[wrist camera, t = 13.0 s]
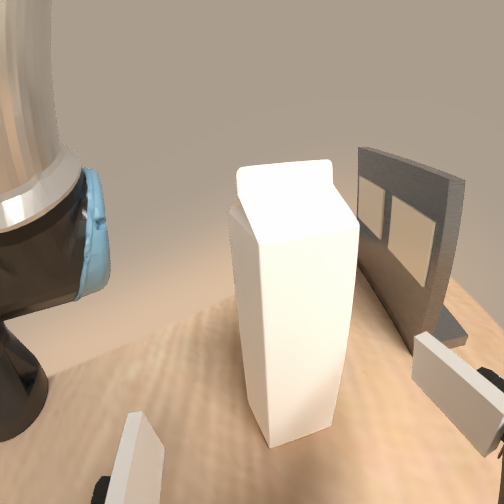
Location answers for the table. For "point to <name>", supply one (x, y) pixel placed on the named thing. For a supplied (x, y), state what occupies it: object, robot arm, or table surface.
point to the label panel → (409, 241)
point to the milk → (292, 292)
